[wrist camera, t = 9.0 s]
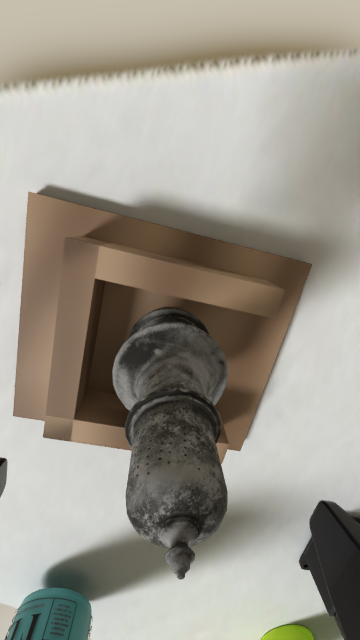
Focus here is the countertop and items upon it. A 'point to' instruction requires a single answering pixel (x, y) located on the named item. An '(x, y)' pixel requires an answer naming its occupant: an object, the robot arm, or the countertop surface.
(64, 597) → the beverage bottle
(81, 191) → the countertop surface
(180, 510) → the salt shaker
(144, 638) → the countertop surface
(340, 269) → the countertop surface
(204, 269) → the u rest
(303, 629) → the soap dispenser
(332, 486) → the countertop surface
